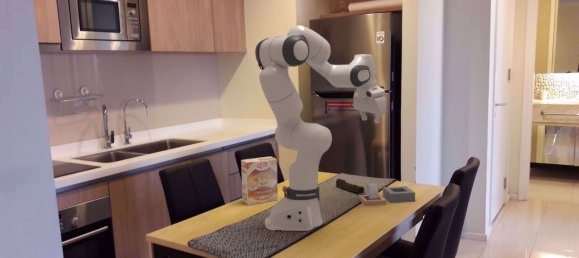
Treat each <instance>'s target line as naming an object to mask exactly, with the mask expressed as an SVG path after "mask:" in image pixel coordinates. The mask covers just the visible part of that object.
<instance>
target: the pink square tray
mask: <svg viewBox="0 0 579 258" xmlns="http://www.w3.org/2000/svg"><path fill="white" fill-rule="evenodd" d="M358 200H359V201H360V202H361V203H362V205H363V206H364V207H369V206H386V205H387V199H386V198H385V197H384V196H383V195H381V194H379V193H378V200H367V194H361V195H358Z"/></svg>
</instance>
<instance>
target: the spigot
mask: <svg viewBox="0 0 579 258" xmlns="http://www.w3.org/2000/svg"><path fill="white" fill-rule="evenodd" d="M378 194H379V185H378V184H377V183H372V182H371V183H370V182H369V183H366V195H367V200H378Z"/></svg>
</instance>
